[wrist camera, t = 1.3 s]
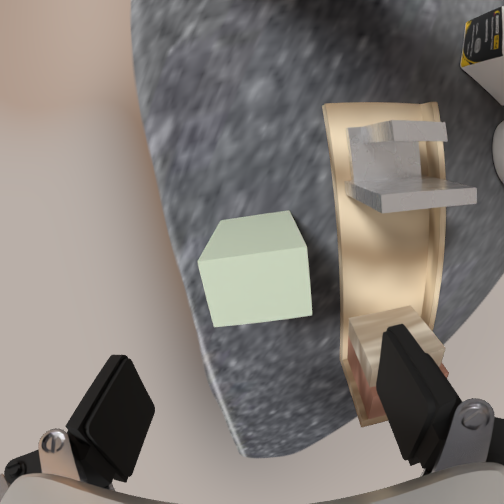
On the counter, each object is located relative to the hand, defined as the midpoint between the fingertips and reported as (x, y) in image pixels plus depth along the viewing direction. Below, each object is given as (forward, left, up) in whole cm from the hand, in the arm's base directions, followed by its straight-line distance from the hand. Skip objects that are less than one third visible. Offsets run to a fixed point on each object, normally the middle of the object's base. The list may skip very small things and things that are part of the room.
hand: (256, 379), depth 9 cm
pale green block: (-1, 0, -15) cm, 15 cm away
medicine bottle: (-17, +27, -15) cm, 35 cm away
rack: (+1, +11, -15) cm, 19 cm away
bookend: (-6, +11, -14) cm, 18 cm away
